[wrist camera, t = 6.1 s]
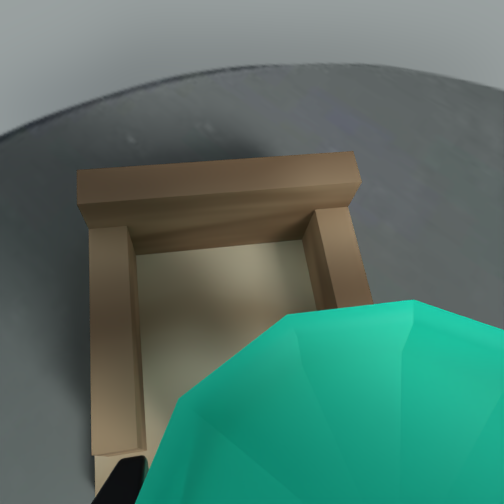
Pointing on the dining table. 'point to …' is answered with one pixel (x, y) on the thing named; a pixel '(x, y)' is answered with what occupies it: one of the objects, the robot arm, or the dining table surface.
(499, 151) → the dining table surface
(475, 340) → the candle
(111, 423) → the dock
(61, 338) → the dining table surface
